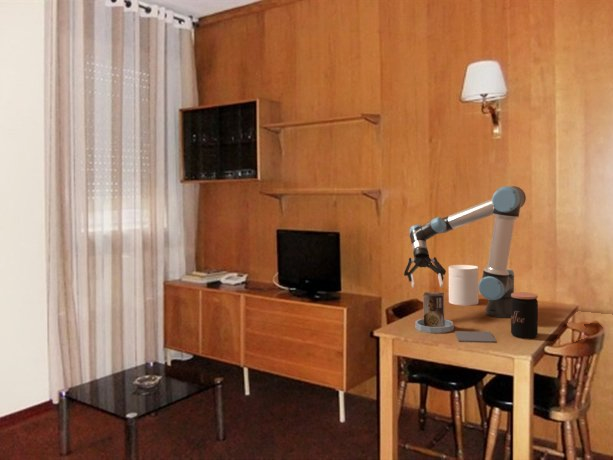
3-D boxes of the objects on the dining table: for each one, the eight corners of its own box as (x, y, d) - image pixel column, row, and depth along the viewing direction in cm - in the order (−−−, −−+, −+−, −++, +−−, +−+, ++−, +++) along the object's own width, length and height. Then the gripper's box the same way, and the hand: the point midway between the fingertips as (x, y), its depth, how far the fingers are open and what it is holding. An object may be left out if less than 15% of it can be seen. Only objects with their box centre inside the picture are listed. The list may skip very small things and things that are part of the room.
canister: (443, 300, 294) (443, 265, 292) (468, 298, 297) (468, 264, 296) (458, 306, 278) (457, 269, 276) (484, 304, 282) (484, 268, 280)
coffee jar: (506, 333, 226) (506, 292, 224) (529, 331, 227) (529, 291, 225) (518, 340, 215) (518, 297, 214) (542, 338, 216) (543, 296, 215)
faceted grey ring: (451, 323, 244) (451, 318, 244) (455, 333, 227) (455, 327, 227) (414, 322, 247) (414, 317, 247) (416, 332, 230) (416, 327, 230)
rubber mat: (490, 333, 226) (490, 331, 226) (496, 342, 212) (496, 341, 212) (454, 332, 229) (454, 331, 229) (458, 341, 215) (458, 340, 215)
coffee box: (444, 326, 239) (444, 292, 237) (443, 330, 233) (443, 295, 231) (424, 325, 242) (424, 291, 240) (423, 329, 236) (422, 294, 234)
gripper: (443, 255, 263) (451, 289, 250) (395, 256, 264) (400, 291, 250) (446, 246, 258) (454, 281, 244) (396, 247, 258) (402, 282, 244)
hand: (427, 286), depth 247 cm, fingers open, 13 cm apart
